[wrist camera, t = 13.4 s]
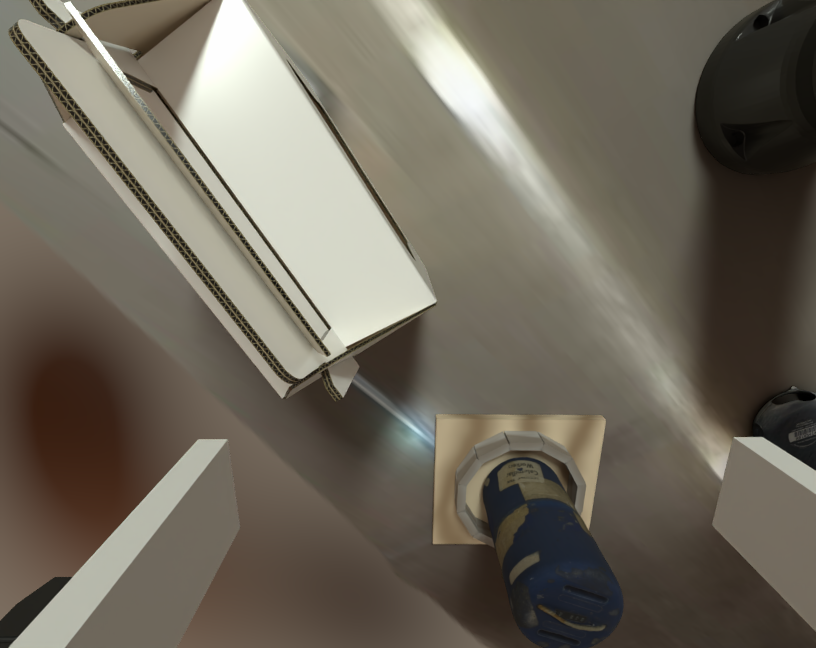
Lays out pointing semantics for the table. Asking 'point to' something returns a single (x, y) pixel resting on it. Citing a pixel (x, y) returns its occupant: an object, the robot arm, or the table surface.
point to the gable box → (234, 177)
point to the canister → (549, 558)
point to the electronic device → (790, 426)
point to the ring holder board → (497, 442)
